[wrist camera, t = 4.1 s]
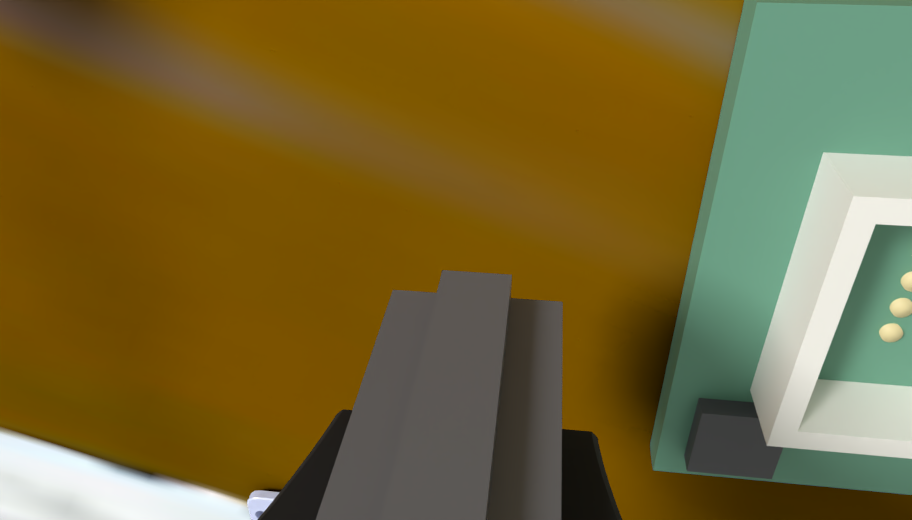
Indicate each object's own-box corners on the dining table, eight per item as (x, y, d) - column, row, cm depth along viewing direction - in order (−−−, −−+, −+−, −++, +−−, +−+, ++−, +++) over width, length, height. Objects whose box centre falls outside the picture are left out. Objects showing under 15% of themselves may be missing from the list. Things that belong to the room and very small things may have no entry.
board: (985, 475, 22) (1040, 568, 19) (650, 445, 23) (660, 529, 20) (1278, 2, 14) (1438, 53, 11) (746, -10, 15) (783, 33, 12)
